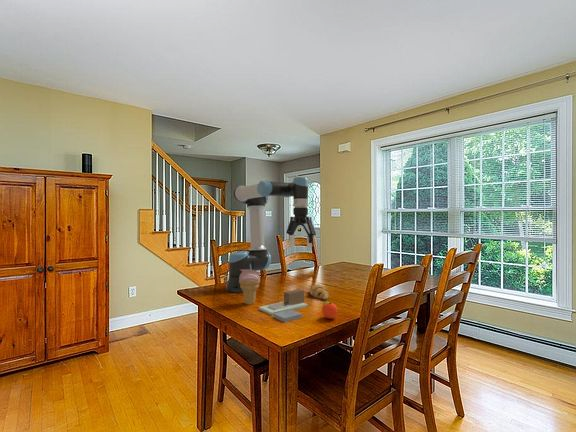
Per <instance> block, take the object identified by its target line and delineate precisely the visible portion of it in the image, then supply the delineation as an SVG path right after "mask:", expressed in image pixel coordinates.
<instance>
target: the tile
mask: <svg viewBox="0 0 576 432" xmlns="http://www.w3.org/2000/svg"><path fill="white" fill-rule="evenodd" d="M273 318H274V319H277V320H278V321H280V322H283V323H287V322H292V321H294V320H298V319H302V318H303V313H301V312H299V311H297V310H291V309H290V310H286V311H282V312H278V313H274V315H273Z"/></svg>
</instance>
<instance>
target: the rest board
mask: <svg viewBox="0 0 576 432" xmlns="http://www.w3.org/2000/svg"><path fill="white" fill-rule="evenodd" d="M281 302H282V301H280V302H279V303H281ZM276 303H277V302H276ZM276 303H274V304H276ZM272 304H273V303H271V304H270V305H272ZM268 305H269V304H267V305H263V306H262V305H261V306H258V310H259V311H260V312H261V311H262V312H263V313H265V314H268V315H270V316H274V313H278V312H282V311H286V310H290V309H291V310H294V311H297V310H299V309H303V308H306V307H309V306H308V303H305V302H304V303H299V304H295V305H292V306H290V307H286V308H282V309H278V310H274V309H272V308H269V307H268Z"/></svg>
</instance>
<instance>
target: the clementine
mask: <svg viewBox="0 0 576 432" xmlns="http://www.w3.org/2000/svg"><path fill="white" fill-rule="evenodd" d="M321 313H322V315H323V316H324V317H325V318H326V319H329V320H330V319H334V318H335V317H336V316H337V315H338V307H337V305H336V304H334V303H333V302H330V301H325V302H324V303H323V305H322V307H321Z"/></svg>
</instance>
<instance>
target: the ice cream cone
mask: <svg viewBox="0 0 576 432" xmlns="http://www.w3.org/2000/svg"><path fill="white" fill-rule="evenodd" d="M241 271H242V273H241V274H240V276H239V283H240V284H241V285H240V287H241V288H242V290H243V292H242V293H243V301H244V304H245V305H248V306H249V305H253V304H255V301H256V295H257V293H256V292H257V290H258V288H259V287H260V285H259V284H260V282H261V279H260V276H261V275H260V273H259V271H254V270H251V264H250V270H241Z"/></svg>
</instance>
